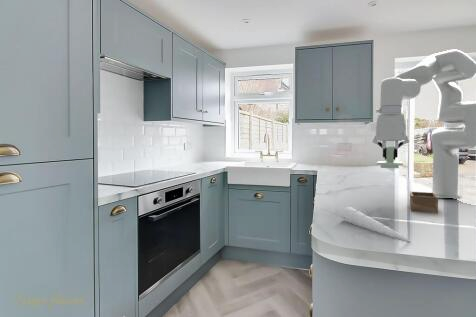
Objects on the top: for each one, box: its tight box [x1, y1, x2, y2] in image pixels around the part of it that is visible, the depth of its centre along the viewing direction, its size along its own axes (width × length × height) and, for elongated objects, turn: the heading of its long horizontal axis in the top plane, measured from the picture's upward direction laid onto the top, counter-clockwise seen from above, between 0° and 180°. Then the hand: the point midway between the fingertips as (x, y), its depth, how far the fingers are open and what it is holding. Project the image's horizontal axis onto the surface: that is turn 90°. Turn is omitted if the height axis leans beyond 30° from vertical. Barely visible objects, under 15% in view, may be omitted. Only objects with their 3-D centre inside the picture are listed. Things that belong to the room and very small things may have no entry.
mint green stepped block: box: [376, 146, 404, 169], centre depth 118 cm, size 12×9×8 cm
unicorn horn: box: [341, 206, 411, 243], centre depth 86 cm, size 5×24×5 cm, turn 16°
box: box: [409, 191, 439, 214], centre depth 111 cm, size 11×8×6 cm
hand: (390, 159), depth 118 cm, fingers closed on mint green stepped block
